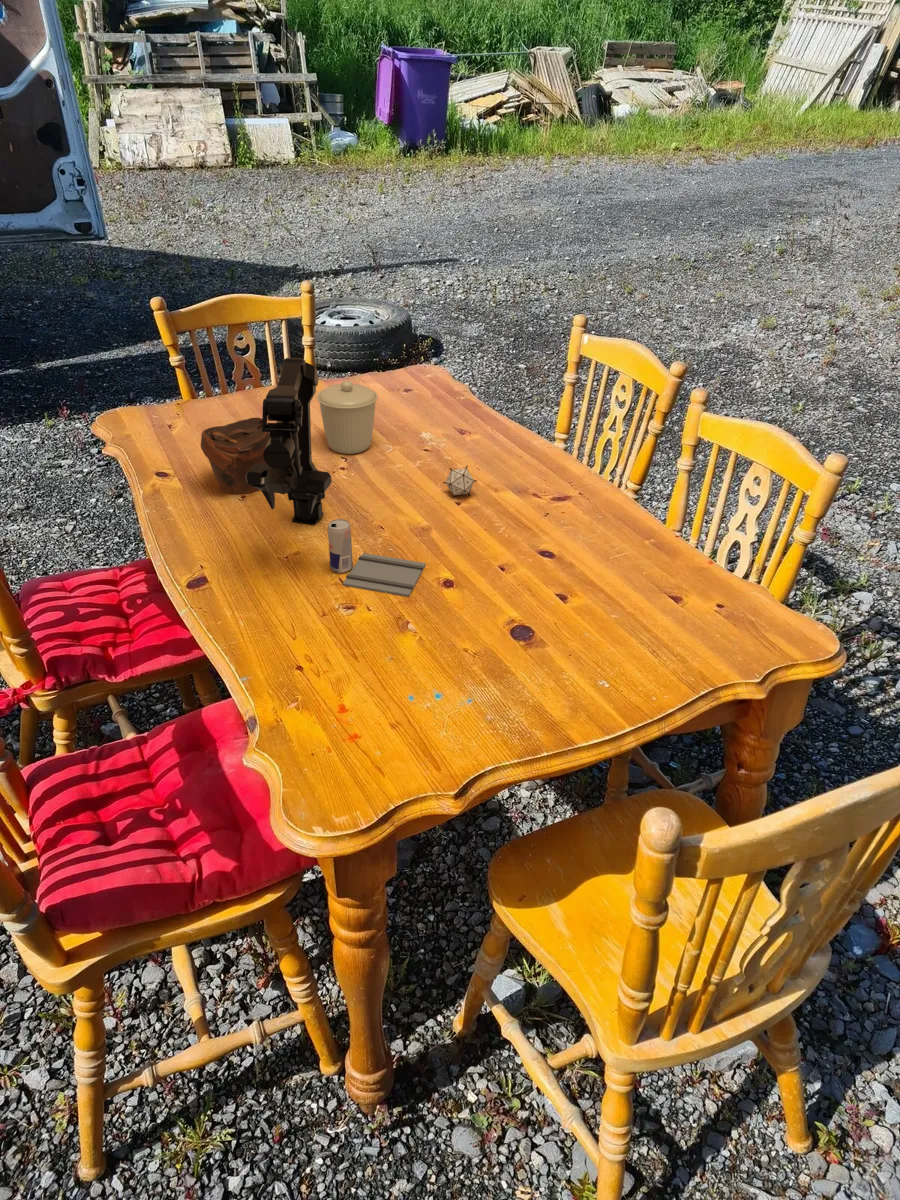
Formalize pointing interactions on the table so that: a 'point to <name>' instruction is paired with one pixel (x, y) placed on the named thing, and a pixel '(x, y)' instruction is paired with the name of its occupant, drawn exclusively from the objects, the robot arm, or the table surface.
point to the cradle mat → (384, 574)
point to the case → (235, 452)
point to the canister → (348, 416)
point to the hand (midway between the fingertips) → (291, 510)
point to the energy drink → (340, 545)
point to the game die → (460, 481)
